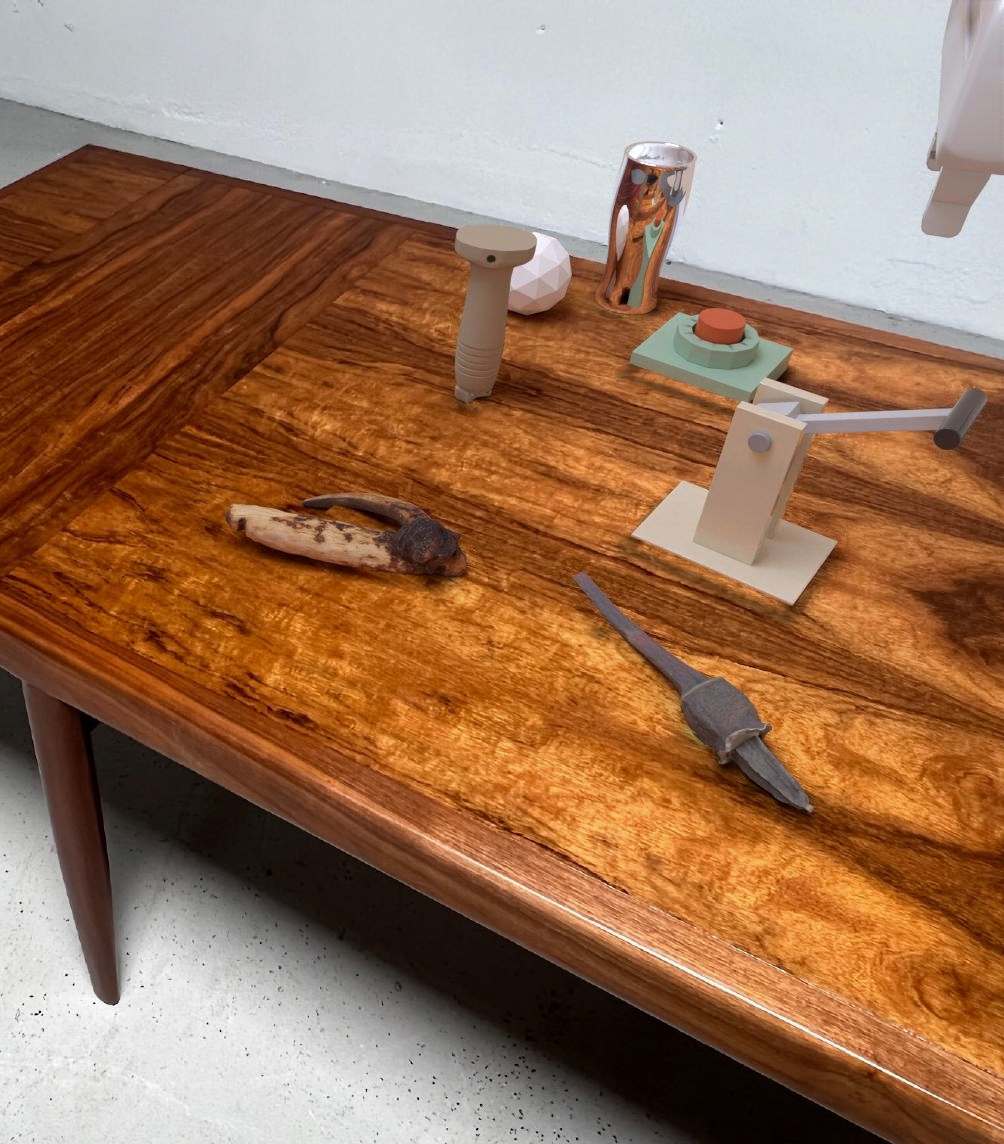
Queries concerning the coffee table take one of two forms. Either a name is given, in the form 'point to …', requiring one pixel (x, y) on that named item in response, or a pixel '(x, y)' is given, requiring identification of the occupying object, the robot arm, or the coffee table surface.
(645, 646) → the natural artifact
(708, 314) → the button
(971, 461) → the coffee table surface
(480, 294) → the handle
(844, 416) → the tap lever
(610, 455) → the coffee table surface
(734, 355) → the button housing
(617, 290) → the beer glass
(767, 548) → the lever stand
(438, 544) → the lashed bone hook
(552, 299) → the geometric ball
